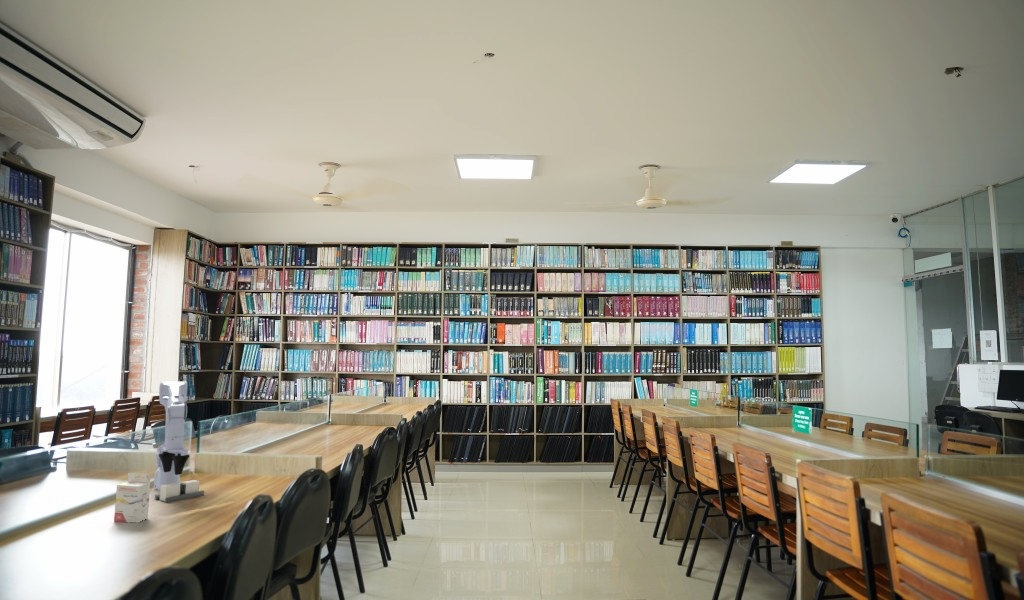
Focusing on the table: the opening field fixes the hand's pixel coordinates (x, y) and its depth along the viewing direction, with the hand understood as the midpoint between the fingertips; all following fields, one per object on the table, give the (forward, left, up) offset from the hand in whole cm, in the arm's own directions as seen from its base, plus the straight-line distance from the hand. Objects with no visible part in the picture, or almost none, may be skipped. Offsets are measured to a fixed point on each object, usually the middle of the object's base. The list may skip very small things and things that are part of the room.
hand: (172, 473), depth 218 cm
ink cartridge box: (+17, -22, -10) cm, 29 cm away
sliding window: (+4, +1, -9) cm, 10 cm away
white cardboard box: (+4, -3, -8) cm, 10 cm away
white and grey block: (+4, +4, -8) cm, 10 cm away
